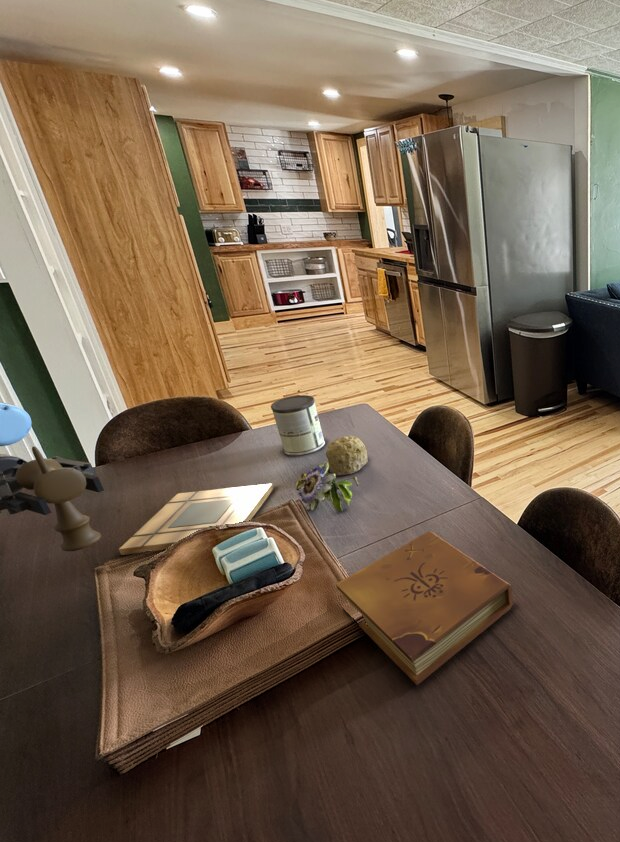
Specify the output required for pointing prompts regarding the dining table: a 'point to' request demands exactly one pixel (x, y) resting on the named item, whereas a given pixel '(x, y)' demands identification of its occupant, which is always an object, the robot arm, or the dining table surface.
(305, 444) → the coffee can
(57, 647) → the dining table surface
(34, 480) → the kendama
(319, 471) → the passion flower
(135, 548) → the board
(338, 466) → the rock
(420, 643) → the diary
